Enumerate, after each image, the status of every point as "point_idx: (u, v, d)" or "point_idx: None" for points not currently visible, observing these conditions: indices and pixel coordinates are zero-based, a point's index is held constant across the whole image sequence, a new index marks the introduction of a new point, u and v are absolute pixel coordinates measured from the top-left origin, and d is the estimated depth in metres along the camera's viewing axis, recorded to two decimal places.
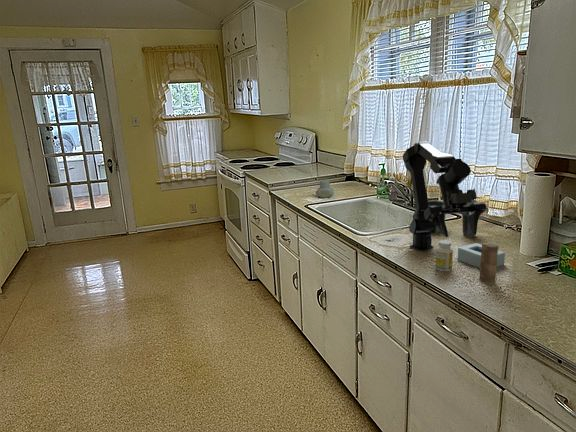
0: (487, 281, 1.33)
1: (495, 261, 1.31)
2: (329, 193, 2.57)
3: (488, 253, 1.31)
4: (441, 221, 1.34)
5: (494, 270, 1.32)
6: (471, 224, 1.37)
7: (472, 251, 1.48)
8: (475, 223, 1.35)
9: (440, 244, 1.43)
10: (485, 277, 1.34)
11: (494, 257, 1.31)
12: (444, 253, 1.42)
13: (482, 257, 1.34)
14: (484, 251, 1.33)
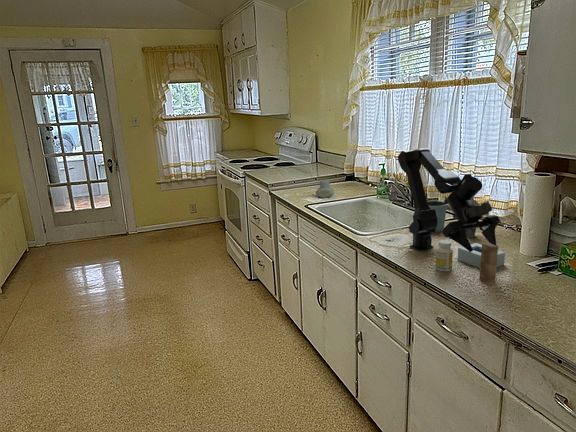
0: (487, 281, 1.33)
1: (495, 261, 1.31)
2: (329, 193, 2.57)
3: (488, 253, 1.31)
4: (463, 236, 1.34)
5: (494, 270, 1.32)
6: (488, 237, 1.38)
7: (472, 251, 1.48)
8: (493, 235, 1.37)
9: (440, 244, 1.43)
10: (485, 277, 1.34)
11: (494, 257, 1.31)
12: (444, 253, 1.42)
13: (482, 257, 1.34)
14: (484, 251, 1.33)
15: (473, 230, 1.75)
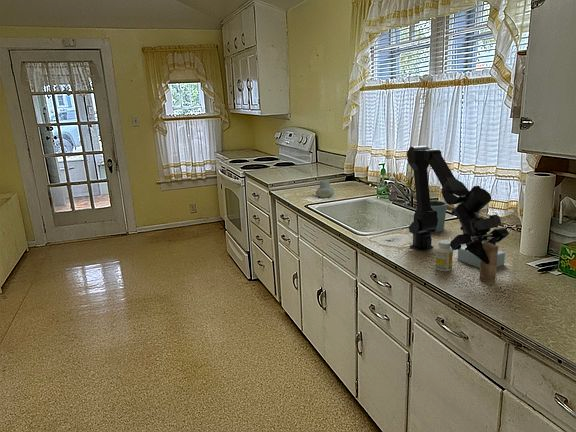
0: (487, 281, 1.33)
1: (495, 261, 1.31)
2: (329, 193, 2.57)
3: (488, 253, 1.31)
4: (480, 248, 1.32)
5: (494, 270, 1.32)
6: None
7: None
8: None
9: (440, 244, 1.43)
10: (485, 277, 1.34)
11: (494, 257, 1.31)
12: (444, 253, 1.42)
13: None
14: None
15: None
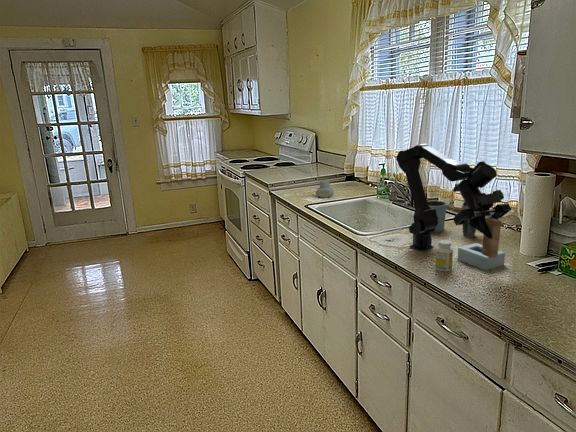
0: (489, 255, 1.35)
1: (498, 236, 1.33)
2: (329, 193, 2.57)
3: (491, 228, 1.33)
4: (483, 223, 1.34)
5: (497, 244, 1.34)
6: None
7: (472, 251, 1.48)
8: None
9: (440, 244, 1.43)
10: (487, 252, 1.36)
11: (497, 232, 1.33)
12: (444, 253, 1.42)
13: None
14: None
15: (473, 230, 1.75)
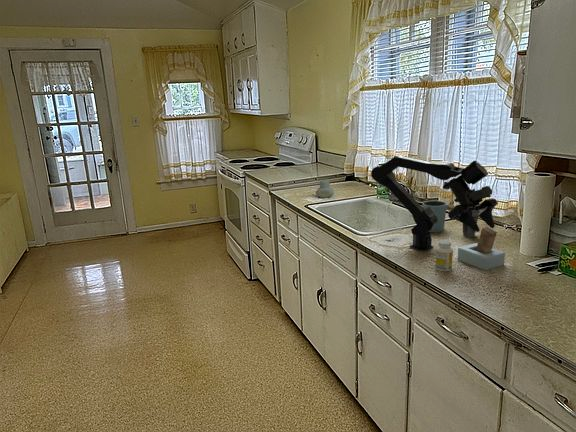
0: None
1: (492, 244, 1.45)
2: (329, 193, 2.57)
3: (487, 238, 1.43)
4: (470, 217, 1.44)
5: (489, 252, 1.46)
6: (486, 219, 1.49)
7: (472, 251, 1.48)
8: (490, 217, 1.48)
9: (440, 244, 1.43)
10: None
11: (492, 241, 1.44)
12: (444, 253, 1.42)
13: (480, 239, 1.46)
14: (483, 235, 1.45)
15: (473, 230, 1.75)
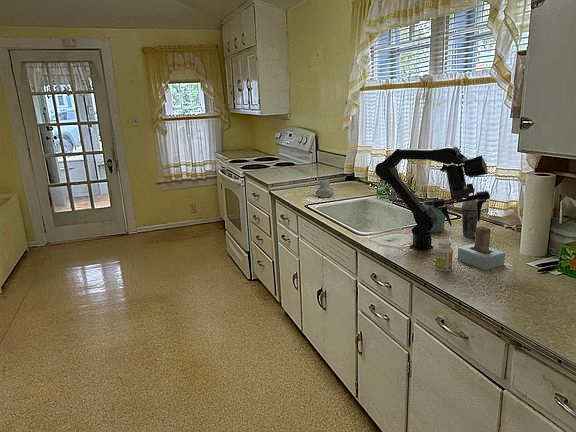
0: None
1: (488, 242, 1.46)
2: (329, 193, 2.57)
3: (482, 235, 1.46)
4: (444, 213, 1.52)
5: (487, 251, 1.47)
6: None
7: (472, 251, 1.48)
8: (478, 211, 1.49)
9: (440, 244, 1.43)
10: None
11: (487, 239, 1.46)
12: (444, 253, 1.42)
13: (476, 239, 1.48)
14: (478, 234, 1.47)
15: (473, 230, 1.75)
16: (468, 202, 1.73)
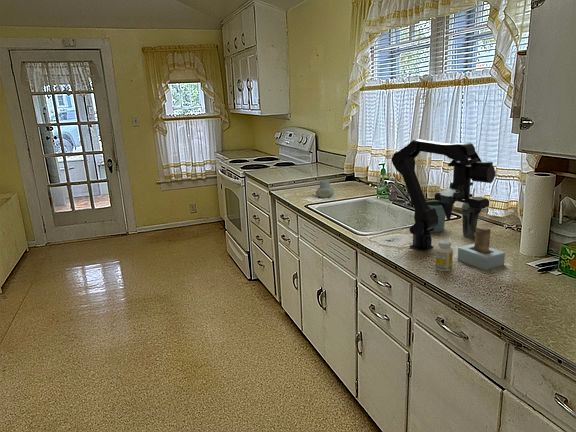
0: None
1: (488, 242, 1.46)
2: (329, 193, 2.57)
3: (482, 235, 1.46)
4: (443, 207, 1.55)
5: (487, 251, 1.47)
6: None
7: (472, 251, 1.48)
8: (470, 216, 1.46)
9: (440, 244, 1.43)
10: None
11: (487, 239, 1.46)
12: (444, 253, 1.42)
13: (476, 239, 1.48)
14: (478, 234, 1.47)
15: (473, 230, 1.75)
16: None
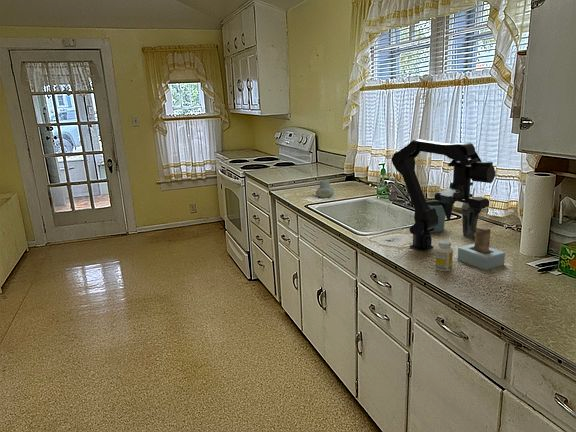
0: None
1: (488, 242, 1.46)
2: (329, 193, 2.57)
3: (482, 235, 1.46)
4: (443, 207, 1.55)
5: (487, 251, 1.47)
6: None
7: (472, 251, 1.48)
8: (470, 216, 1.46)
9: (440, 244, 1.43)
10: None
11: (487, 239, 1.46)
12: (444, 253, 1.42)
13: (476, 239, 1.48)
14: (478, 234, 1.47)
15: (473, 230, 1.75)
16: None
